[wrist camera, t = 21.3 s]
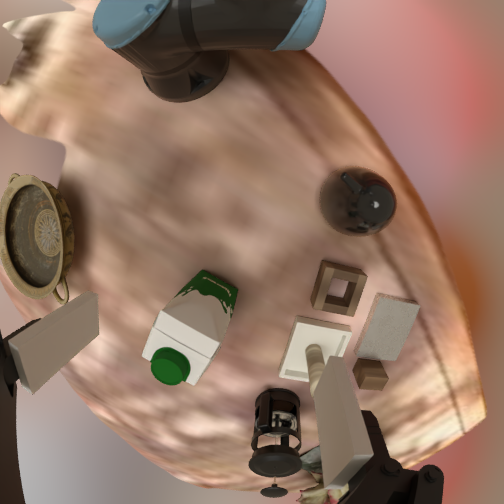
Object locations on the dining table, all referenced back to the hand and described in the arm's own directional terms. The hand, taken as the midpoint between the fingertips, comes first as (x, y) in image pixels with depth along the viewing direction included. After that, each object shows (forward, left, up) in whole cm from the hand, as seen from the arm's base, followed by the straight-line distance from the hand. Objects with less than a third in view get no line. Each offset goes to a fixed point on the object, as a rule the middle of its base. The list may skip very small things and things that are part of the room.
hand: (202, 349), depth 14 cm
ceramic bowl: (+7, -42, -32) cm, 53 cm away
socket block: (+4, +15, -32) cm, 35 cm away
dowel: (+17, +15, -31) cm, 38 cm away
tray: (+17, +15, -32) cm, 39 cm away
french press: (+32, +12, -32) cm, 47 cm away
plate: (+10, +27, -32) cm, 43 cm away
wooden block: (+19, +27, -32) cm, 46 cm away
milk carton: (+11, -5, -32) cm, 34 cm away
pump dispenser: (-10, +13, -32) cm, 36 cm away
